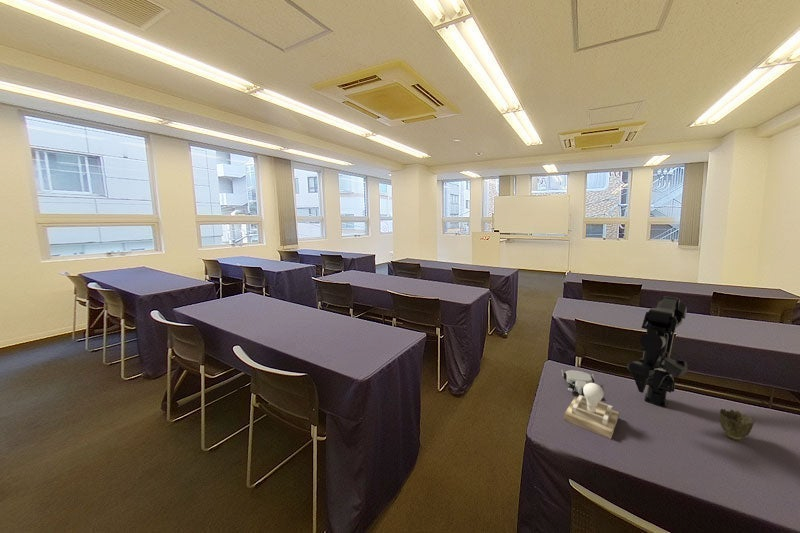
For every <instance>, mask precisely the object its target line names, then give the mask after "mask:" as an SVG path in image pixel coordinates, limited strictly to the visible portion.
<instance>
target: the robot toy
mask: <svg viewBox="0 0 800 533" xmlns="http://www.w3.org/2000/svg"><path fill="white" fill-rule="evenodd" d="M561 374H562V378H563V379H564V381H566V382H567V383H568V384H569V386H568V388H567V390H568V391H569V392H571V393H572V392H573V391H575V392H576V393H577V392H578V395H582V396H585V395H584V393H583V388H584V386H585V385H586V384H588V383H596V382H595V381H596V380H595V376H594V374H593V373H592V374H589V373H587V372H585V371H580V370H572V369H571V370H566V371H565V372H564V371H563V370H561Z"/></svg>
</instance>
